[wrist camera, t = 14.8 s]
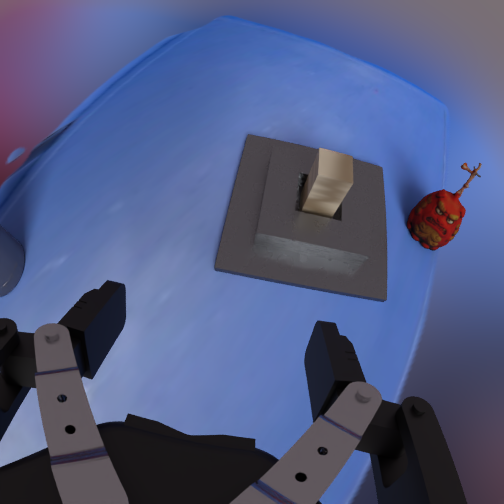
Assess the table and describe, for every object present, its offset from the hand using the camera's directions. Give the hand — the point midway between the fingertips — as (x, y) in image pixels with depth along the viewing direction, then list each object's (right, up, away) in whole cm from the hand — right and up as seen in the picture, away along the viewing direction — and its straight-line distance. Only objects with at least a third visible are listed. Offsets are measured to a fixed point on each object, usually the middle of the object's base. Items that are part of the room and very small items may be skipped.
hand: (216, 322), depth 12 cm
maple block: (+10, +9, +29) cm, 32 cm away
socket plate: (+10, +8, +30) cm, 33 cm away
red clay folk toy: (+28, +6, +31) cm, 43 cm away
